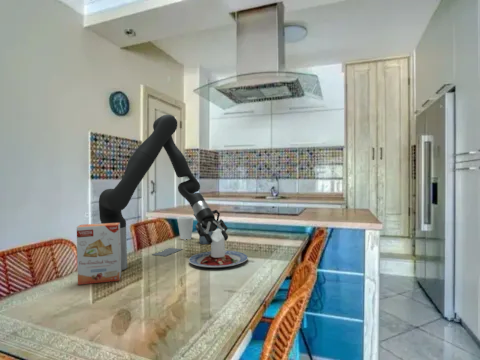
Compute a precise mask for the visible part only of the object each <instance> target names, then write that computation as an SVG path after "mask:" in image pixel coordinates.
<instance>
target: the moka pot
mask: <svg viewBox="0 0 480 360" xmlns="http://www.w3.org/2000/svg"><path fill="white" fill-rule="evenodd" d="M211 211H212V212H213V214H214V215H217V216H216V219H215V220H216V221H220V215H221V213H220V212H219V211H218V210H217V209H215V210H211ZM192 215H193V217H194V218H195V220H196V221H197V223H198V222H199V221H198V219H197V218H196V216H195V214H192ZM202 229H203V231H204V230H205V229H204V228H202ZM213 232H214V231H211V232H208V234H209V235H210V237H211V235H212V234H213ZM198 236H199V235H198ZM198 242H199V243H198V244H201V245H207V244H209V243H208V242H207V240H206V239H205V237H204V236H202V237H200V236H199V241H198Z"/></svg>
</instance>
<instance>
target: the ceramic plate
mask: <svg viewBox="0 0 480 360" xmlns="http://www.w3.org/2000/svg"><path fill="white" fill-rule="evenodd" d="M248 259H249V257H248V255H247V254H245V253H244V252H241V251H235V250H225V256H224V257H219V258H215V257H211V250H210V251H204V252H199V253H196V254H193V255H191V256H190V257H188V262H189V263H190V264H191V265H194V266H197V267H201V268H212V269H214V268H215V269H217V268H218V269H220V268H228V267H233V266H237V265H240V264H242V263H245V262H246V261H247V260H248Z"/></svg>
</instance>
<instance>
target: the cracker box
mask: <svg viewBox="0 0 480 360" xmlns="http://www.w3.org/2000/svg"><path fill="white" fill-rule="evenodd" d="M76 256H77V259H76V260H77V261H76V262H77V264H76V265H77V285H78V286H80V285H90V284H99V283H108V282H110V281H111V282H119V281H121V277H122V270H121V242H120V223H105V224H101V223H89V224H88V223H87V224H79V225H78V226H77V227H76ZM111 282H110V283H111Z"/></svg>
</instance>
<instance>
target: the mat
mask: <svg viewBox="0 0 480 360" xmlns="http://www.w3.org/2000/svg"><path fill="white" fill-rule="evenodd" d="M163 250H164V251H163ZM163 250H161V251H162V252H160V251H158V253H157V252H155V253H152V254H151V255H152V256H156V255H160V256H159V257H168V256H170V255H173V254H175V253H177V251H178V252H180V251H183V248H178V247H177V248H175V247H167V248H166V249H163ZM172 253H173V254H172Z"/></svg>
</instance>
